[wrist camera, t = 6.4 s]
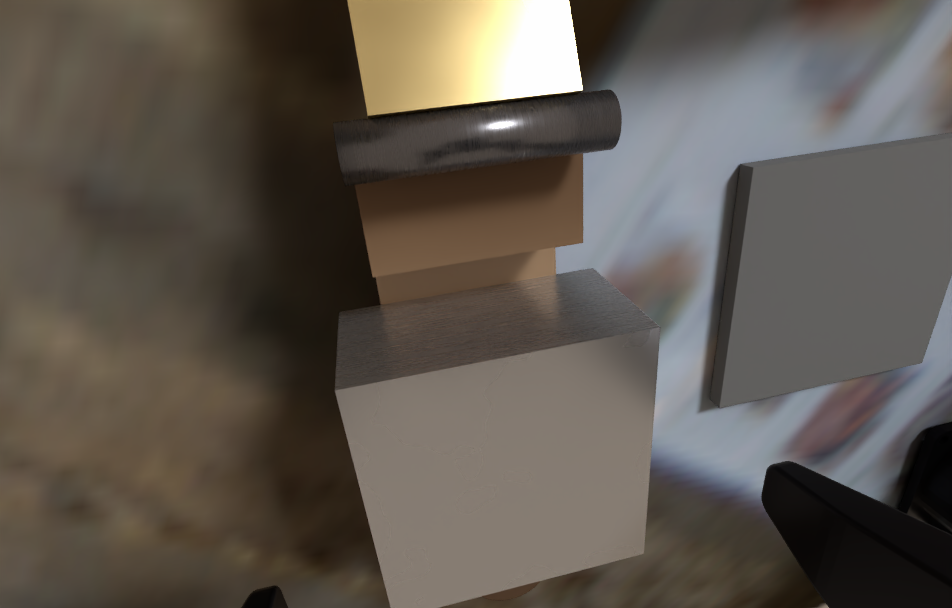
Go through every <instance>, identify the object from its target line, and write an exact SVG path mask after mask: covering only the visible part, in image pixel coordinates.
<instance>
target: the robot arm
mask: <svg viewBox="0 0 952 608" xmlns="http://www.w3.org/2000/svg"><path fill="white" fill-rule="evenodd" d="M761 497H762V503H763V506H764V508H765V510H766V512H767V514H768V515H769V517H770V518H771V520H772V522H773V523H774V525H775V526H776V528H777V530H778V531H779V533H780V534H781V536H782V538H783V539H784V541H785V542H786V544H787V546H788V547H789V549H790V550H791V552H792V554H793V555H794V557H795V558H796V560H797V562H798V563H799V565H800V566H801V568H802V570H803V571H804V573H805V574H806V576H807V577H808V579H809V580H810V582H811V583H812V585H813V586H814V588H815V589H816V591H817V592H818V593H819V595H820V596H821V597H822V599H823V600H824V602H825V603H826V604H827V605H828V607H829V608H952V423H948V424H944V425H940V426H937V427H934V428H933V429H932V430H930V431H929V432H928V434H927V435H926V437H925V440H924V443H923V445H922V448H921V451H920V454H919V456H918V459H917V462H916V464H915V467H914V470H913V473H912V475H911V478H910V481H909V483H908V486H907V489H906V491H905V494H904V497H903V500H902V502H901V505H900V508H899V510H897V509H895V508H892V507H890V506H888V505H886V504H884V503H881V502H879V501H877V500H875V499H873V498H871V497H868V496H866V495H864V494H862V493H860V492H858V491H855V490H853V489H851V488H849V487H847V486H845V485H842V484H840V483H838V482H836V481H834V480H832V479H829V478H827V477H825V476H823V475H821V474H819V473H816V472H814V471H812V470H810V469H808V468H806V467H803V466H801V465H799V464H797V463H794V462H791V461H785V462H781V463H776V464H772V465H770V466H769V467H768V468H767V471H766V475H765V480H764V485H763V490H762V496H761ZM241 608H288V606H287V604H286V601H285V599H284V596H283V594H282V591H281V589H280V588H279V587H278V586H270V587H266V588H262V589H258V590H255V591H253V592H252V593H251V594H250V595H249V596H248V598H247V599H246V601H245V603H244V604H243V606H242V607H241Z"/></svg>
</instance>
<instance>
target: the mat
mask: <svg viewBox="0 0 952 608" xmlns="http://www.w3.org/2000/svg"><path fill="white" fill-rule="evenodd" d="M951 276H952V133H946V134H939V135H933V136H926V137H919V138H912V139H906V140H899V141H892V142H885V143H879V144H872V145H865V146H859V147H852V148H845V149H838V150H832V151H825V152H818V153H811V154H805V155H798V156H791V157H784V158H778V159H771V160H764V161H758V162H751V163H744V164H740V172H739V179H738V187H737V195H736V202H735V210H734V218H733V225H732V233H731V241H730V248H729V256H728V264H727V271H726V279H725V287H724V294H723V302H722V310H721V317H720V325H719V333H718V340H717V348H716V356H715V363H714V371H713V379H712V386H711V394H710V400H711V401H712V402H713V403H714V404H716V405H717V406H718V407H719V408H723V407H727V406H732V405H736V404H741V403H745V402H750V401H754V400H759V399H763V398H768V397H772V396H777V395H781V394H786V393H790V392H794V391H799V390H803V389H808V388H812V387H817V386H821V385H826V384H830V383H835V382H839V381H844V380H848V379H853V378H857V377H861V376H866V375H870V374H875V373H879V372H884V371H888V370H893V369H897V368H902V367H906V366H911V365H915V364H920V363H922V361H923V358H924V355H925V352H926V349H927V347H928V344H929V341H930V338H931V335H932V332H933V329H934V326H935V323H936V320H937V317H938V314H939V311H940V308H941V305H942V302H943V299H944V296H945V293H946V290H947V287H948V284H949V281H950V278H951Z"/></svg>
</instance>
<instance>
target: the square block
mask: <svg viewBox="0 0 952 608" xmlns="http://www.w3.org/2000/svg"><path fill="white" fill-rule="evenodd" d="M659 339H660V326H658V325H657V324H656V323H655V322H654V321H653V320H652V319H650V318H649V317H648V316H647V315H646V314H645V313H644V312H642V311H641V310H640V309H639V308H638V307H637V306H636V305H634V304H633V303H632V302H631V301H630V300H629V299H628V298H626V297H625V296H624V295H623V294H622V293H621V292H620V291H618V290H617V289H616V288H615V287H614V286H613V285H612V284H610V283H609V282H608V281H607V280H606V279H605V278H604V277H602V276H601V275H600V274H599V273H598V272H597V271H596V270H594V269H593V268H591V269H585V270H579V271H573V272H567V273H562V274H556V275H550V276H544V277H539V278H533V279H527V280H521V281H516V282H510V283H504V284H498V285H492V286H487V287H481V288H475V289H469V290H464V291H458V292H452V293H446V294H441V295H435V296H429V297H423V298H417V299H412V300H406V301H400V302H394V303H389V304H383V305H377V306H371V307H365V308H360V309H354V310H348V311H342V312H339V323H338V341H337V360H336V378H335V393H336V397H337V401H338V405H339V409H340V413H341V417H342V420H343V424H344V428H345V432H346V436H347V440H348V444H349V448H350V452H351V455H352V459H353V463H354V467H355V471H356V475H357V479H358V483H359V487H360V490H361V494H362V498H363V502H364V506H365V510H366V514H367V518H368V521H369V525H370V529H371V533H372V537H373V541H374V545H375V549H376V553H377V556H378V560H379V564H380V568H381V572H382V576H383V580H384V584H385V587H386V591H387V595H388V599H389V603H390V607H391V608H439V607H443V606H447V605H450V604H454V603H458V602H462V601H466V600H469V599H473V598H477V597H481V596H485V595H488V594H492V593H496V592H500V591H504V590H507V589H511V588H515V587H519V586H523V585H526V584H530V583H534V582H538V581H542V580H545V579H549V578H553V577H557V576H561V575H564V574H568V573H572V572H576V571H580V570H583V569H587V568H591V567H595V566H599V565H602V564H606V563H610V562H614V561H618V560H621V559H625V558H629V557H633V556H637V555H640V554H644V543H645V530H646V516H647V502H648V489H649V475H650V462H651V448H652V434H653V421H654V407H655V393H656V380H657V366H658V352H659Z"/></svg>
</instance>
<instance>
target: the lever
mask: <svg viewBox="0 0 952 608" xmlns="http://www.w3.org/2000/svg"><path fill="white" fill-rule="evenodd" d="M347 3H348V8H349V14H350V20H351V25H352V31H353V37H354V42H355V48H356V54H357V59H358V65H359V71H360V76H361V82H362V87H363V93H364V99H365V104H366V110H367V116H368V119H360V120H351V121H343V122H335V123H333V130H334V137H335V143H336V148H337V153H338V159H339V163H340V168H341V172H342V177H343V181H344V184H345V186H350V185H358V184H365V183H372V182H379V181H387V180H394V179H401V178H408V177H416V176H423V175H430V174H437V173H444V172H452V171H459V170H466V169H473V168H481V167H488V166H495V165H502V164H509V163H517V162H524V161H531V160H538V159H546V158H553V157H560V156H567V155H575V154H582V153H589V152H596V151H603V150H611V149H613V148H614V147H615V146H616V145H617V143H618V140H619V137H620V133H621V109H620V105H619V101H618V99H617V96H616V95H615V93H614V92H613V91H611V90H601V91H593V92H584V93H580V92H581V91H582V90H583V89H582V82H581V76H580V69H579V63H578V56H577V50H576V43H575V37H574V30H573V24H572V17H571V11H570V4H569V0H347Z"/></svg>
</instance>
